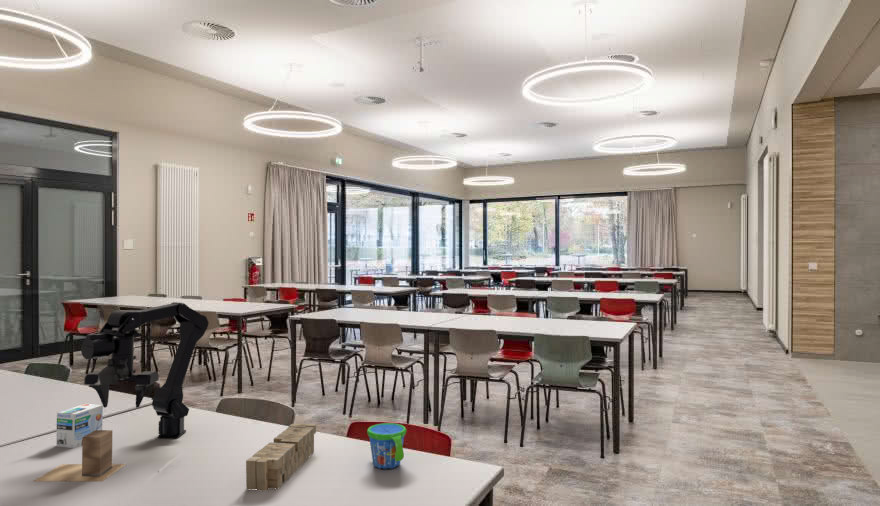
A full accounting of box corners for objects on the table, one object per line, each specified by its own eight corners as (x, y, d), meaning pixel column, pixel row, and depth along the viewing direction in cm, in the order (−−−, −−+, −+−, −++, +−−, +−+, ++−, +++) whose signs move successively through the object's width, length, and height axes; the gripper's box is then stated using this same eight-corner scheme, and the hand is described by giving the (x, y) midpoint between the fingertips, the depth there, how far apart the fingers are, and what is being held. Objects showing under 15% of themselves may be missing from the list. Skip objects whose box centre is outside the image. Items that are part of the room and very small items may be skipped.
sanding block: (111, 467, 146) (112, 430, 146) (99, 476, 141) (100, 437, 141) (94, 467, 146) (95, 430, 146) (81, 476, 141) (82, 437, 141)
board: (125, 467, 149) (125, 463, 149) (102, 484, 138) (102, 480, 138) (61, 467, 148) (61, 464, 148) (33, 484, 137) (33, 480, 137)
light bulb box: (74, 450, 161) (74, 414, 161) (54, 449, 162) (55, 412, 162) (103, 439, 171) (103, 404, 171) (85, 437, 173) (85, 403, 173)
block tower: (275, 496, 135) (317, 450, 164) (275, 462, 135) (317, 422, 164) (244, 494, 136) (291, 448, 165) (244, 460, 136) (292, 421, 165)
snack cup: (359, 458, 158) (360, 422, 158) (394, 452, 162) (394, 418, 162) (377, 478, 144) (378, 439, 144) (414, 472, 148) (415, 434, 148)
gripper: (72, 358, 152) (71, 415, 152) (140, 359, 153) (139, 415, 153) (96, 351, 163) (95, 404, 163) (159, 352, 164) (159, 404, 164)
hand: (121, 407), depth 160 cm, fingers open, 9 cm apart
